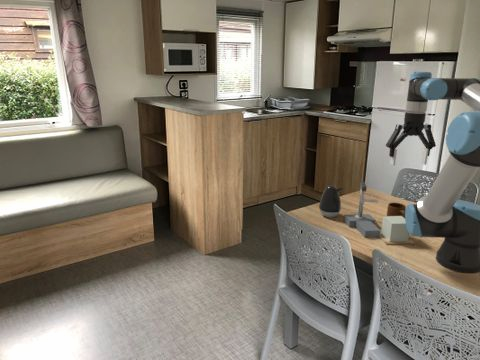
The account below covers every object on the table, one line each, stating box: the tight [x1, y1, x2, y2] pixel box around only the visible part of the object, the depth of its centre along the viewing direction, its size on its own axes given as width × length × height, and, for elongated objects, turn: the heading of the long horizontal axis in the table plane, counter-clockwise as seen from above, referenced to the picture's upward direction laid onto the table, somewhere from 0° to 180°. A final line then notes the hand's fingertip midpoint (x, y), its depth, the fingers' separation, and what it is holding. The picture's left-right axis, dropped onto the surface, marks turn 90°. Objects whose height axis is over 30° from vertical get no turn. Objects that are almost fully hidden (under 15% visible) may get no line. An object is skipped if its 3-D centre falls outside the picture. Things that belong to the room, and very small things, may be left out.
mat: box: [378, 231, 416, 246], centre depth 161 cm, size 12×12×1 cm
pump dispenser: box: [318, 185, 344, 219], centre depth 183 cm, size 10×10×15 cm
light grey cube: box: [380, 215, 410, 242], centre depth 160 cm, size 8×8×8 cm
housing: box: [343, 213, 381, 238], centre depth 170 cm, size 18×12×4 cm, turn 5°
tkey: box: [357, 181, 379, 217], centre depth 172 cm, size 8×8×15 cm
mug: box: [386, 202, 407, 218], centre depth 172 cm, size 12×8×9 cm, turn 6°
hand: (408, 164), depth 157 cm, fingers open, 13 cm apart
